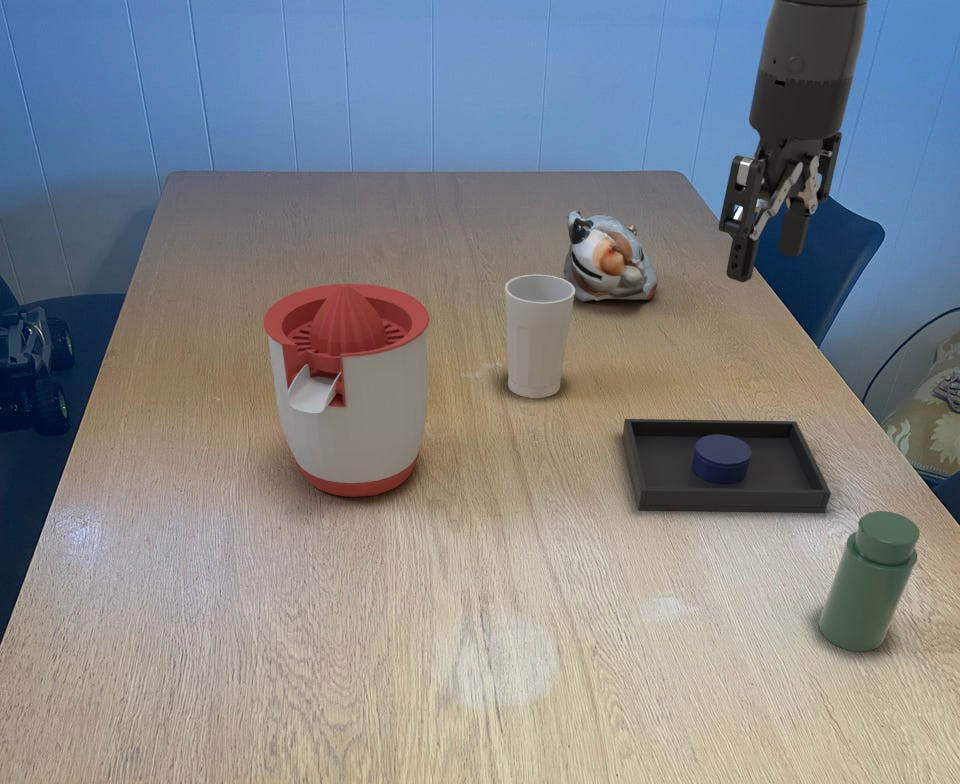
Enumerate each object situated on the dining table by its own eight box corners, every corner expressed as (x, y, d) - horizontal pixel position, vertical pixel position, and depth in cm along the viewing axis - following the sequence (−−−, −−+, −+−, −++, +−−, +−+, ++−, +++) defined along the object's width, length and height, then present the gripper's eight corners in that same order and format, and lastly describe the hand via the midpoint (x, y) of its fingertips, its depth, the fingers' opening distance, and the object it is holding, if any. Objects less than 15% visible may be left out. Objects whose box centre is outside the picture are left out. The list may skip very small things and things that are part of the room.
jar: (872, 609, 87) (912, 507, 80) (892, 651, 83) (937, 548, 76) (811, 609, 87) (845, 506, 80) (828, 651, 83) (866, 547, 76)
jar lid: (751, 485, 101) (756, 465, 99) (695, 483, 101) (699, 463, 99) (741, 455, 105) (746, 435, 104) (688, 453, 105) (692, 433, 104)
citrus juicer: (247, 501, 98) (215, 311, 84) (325, 420, 110) (308, 242, 97) (388, 535, 94) (378, 342, 81) (453, 447, 106) (453, 267, 93)
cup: (532, 408, 113) (539, 309, 105) (487, 382, 118) (490, 286, 109) (580, 387, 117) (589, 290, 109) (534, 363, 121) (540, 268, 113)
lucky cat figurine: (675, 294, 138) (684, 223, 125) (612, 344, 136) (614, 277, 123) (605, 234, 143) (606, 160, 130) (543, 282, 141) (538, 211, 128)
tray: (791, 439, 109) (796, 421, 107) (825, 512, 99) (831, 492, 97) (622, 437, 109) (624, 418, 107) (638, 510, 98) (641, 490, 97)
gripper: (811, 44, 83) (769, 236, 94) (717, 70, 76) (684, 275, 87) (891, 59, 79) (839, 257, 90) (802, 88, 72) (756, 300, 83)
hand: (763, 266), depth 88 cm, fingers open, 8 cm apart
